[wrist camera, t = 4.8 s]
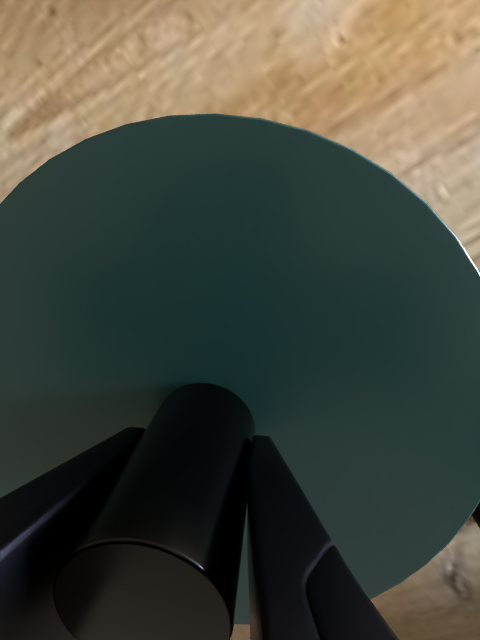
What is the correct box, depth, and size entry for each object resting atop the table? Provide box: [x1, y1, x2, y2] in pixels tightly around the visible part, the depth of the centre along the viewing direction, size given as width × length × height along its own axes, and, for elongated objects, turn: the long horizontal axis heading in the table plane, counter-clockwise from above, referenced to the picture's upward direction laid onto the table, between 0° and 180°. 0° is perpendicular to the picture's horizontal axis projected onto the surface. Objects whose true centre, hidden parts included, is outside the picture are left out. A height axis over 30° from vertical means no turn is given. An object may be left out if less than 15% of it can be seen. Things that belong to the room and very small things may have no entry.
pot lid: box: [0, 114, 480, 640], centre depth 7 cm, size 15×15×6 cm
